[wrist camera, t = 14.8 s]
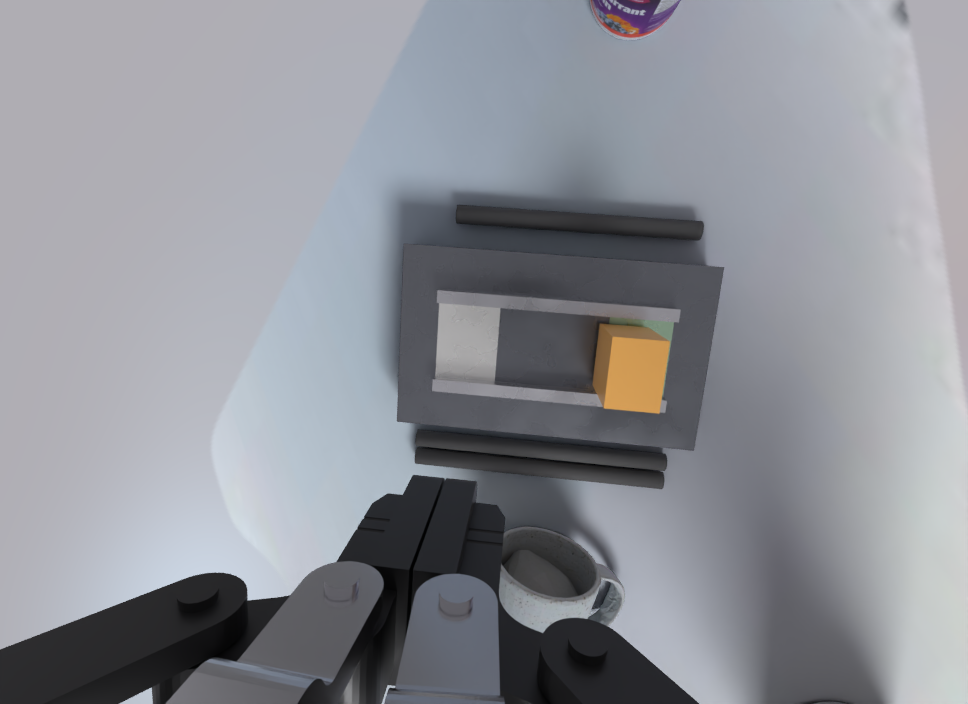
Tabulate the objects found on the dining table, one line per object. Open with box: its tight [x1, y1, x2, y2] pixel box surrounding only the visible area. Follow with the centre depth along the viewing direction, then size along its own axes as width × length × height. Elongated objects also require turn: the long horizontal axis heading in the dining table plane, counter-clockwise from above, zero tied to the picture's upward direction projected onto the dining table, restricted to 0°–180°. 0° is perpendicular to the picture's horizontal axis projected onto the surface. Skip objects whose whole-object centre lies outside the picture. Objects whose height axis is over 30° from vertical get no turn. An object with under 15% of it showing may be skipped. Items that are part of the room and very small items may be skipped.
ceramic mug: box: [499, 527, 625, 633], centre depth 36 cm, size 11×8×8 cm
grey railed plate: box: [415, 205, 704, 489], centre depth 36 cm, size 18×19×1 cm
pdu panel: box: [397, 244, 724, 451], centre depth 34 cm, size 20×12×4 cm, turn 86°
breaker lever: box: [592, 323, 670, 414], centre depth 30 cm, size 3×4×5 cm
